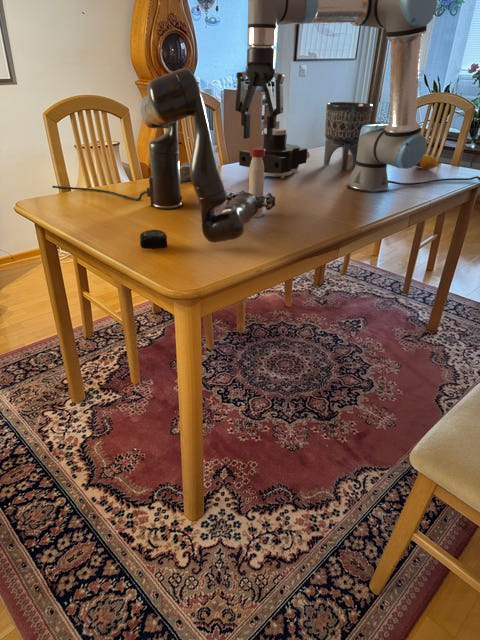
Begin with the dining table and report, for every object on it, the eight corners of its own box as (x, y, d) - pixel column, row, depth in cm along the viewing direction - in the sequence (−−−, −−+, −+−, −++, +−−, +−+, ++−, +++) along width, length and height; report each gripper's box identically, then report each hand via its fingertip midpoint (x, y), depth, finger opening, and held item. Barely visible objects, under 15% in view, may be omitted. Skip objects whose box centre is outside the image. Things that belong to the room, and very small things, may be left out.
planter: (313, 167, 208) (319, 103, 195) (331, 160, 222) (338, 101, 209) (353, 173, 199) (362, 107, 185) (369, 166, 213) (379, 104, 199)
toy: (413, 162, 205) (407, 155, 217) (415, 176, 208) (410, 168, 220) (439, 154, 201) (432, 147, 214) (441, 168, 204) (434, 161, 217)
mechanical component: (240, 120, 182) (283, 115, 202) (239, 174, 192) (280, 164, 212) (283, 126, 170) (325, 120, 190) (280, 183, 180) (320, 171, 200)
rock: (198, 175, 188) (197, 159, 184) (210, 180, 182) (210, 163, 179) (170, 180, 180) (169, 163, 177) (183, 185, 175) (182, 168, 171)
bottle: (246, 216, 143) (247, 150, 133) (250, 212, 147) (252, 148, 137) (259, 218, 142) (262, 151, 132) (263, 213, 145) (266, 149, 136)
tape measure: (140, 252, 115) (139, 238, 113) (141, 242, 120) (140, 229, 119) (167, 251, 116) (166, 237, 114) (167, 241, 121) (166, 228, 120)
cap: (248, 156, 134) (248, 149, 133) (252, 154, 137) (252, 147, 136) (262, 157, 133) (262, 150, 132) (266, 155, 136) (266, 148, 135)
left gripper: (266, 198, 125) (279, 184, 138) (218, 193, 128) (235, 180, 142) (265, 224, 129) (278, 209, 142) (218, 219, 132) (234, 204, 146)
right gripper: (300, 48, 120) (293, 140, 132) (234, 47, 128) (233, 134, 139) (290, 47, 115) (284, 144, 126) (222, 46, 122) (222, 137, 133)
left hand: (256, 195), depth 142 cm, fingers open, 8 cm apart
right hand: (257, 139), depth 133 cm, fingers open, 7 cm apart
